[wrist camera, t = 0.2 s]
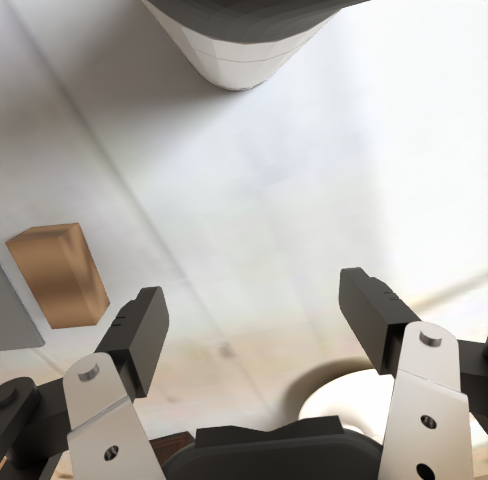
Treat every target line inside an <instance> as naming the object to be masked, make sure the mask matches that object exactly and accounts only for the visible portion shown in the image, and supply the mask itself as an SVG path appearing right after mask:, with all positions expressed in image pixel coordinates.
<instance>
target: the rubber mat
mask: <svg viewBox="0 0 488 480" xmlns="http://www.w3.org/2000/svg"><path fill="white" fill-rule="evenodd" d="M44 344H45V342H44V340H43V339H42V337H41V335H40V333H39V332H38V330H37V328H36V326H35V325H34V323H33V321H32V320H31V318H30V316H29V314H28V313H27V311H26V309H25V308H24V306H23V304H22V302H21V301H20V299H19V297H18V295H17V294H16V292H15V290H14V289H13V287H12V285H11V283H10V282H9V280H8V278H7V277H6V275H5V273H4V271H3V270H2V268H1V266H0V351H3V350H14V349H24V348H34V347H42V346H43V345H44Z"/></svg>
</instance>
